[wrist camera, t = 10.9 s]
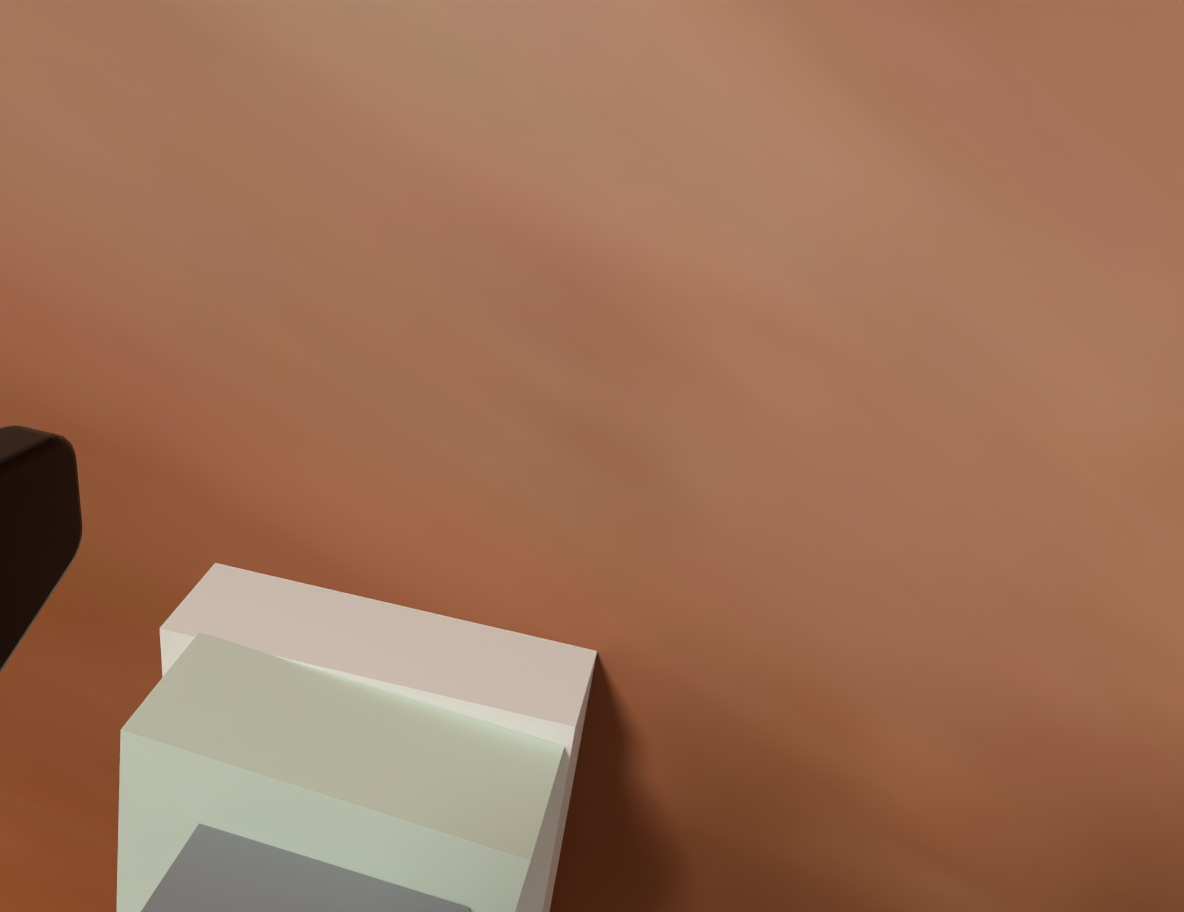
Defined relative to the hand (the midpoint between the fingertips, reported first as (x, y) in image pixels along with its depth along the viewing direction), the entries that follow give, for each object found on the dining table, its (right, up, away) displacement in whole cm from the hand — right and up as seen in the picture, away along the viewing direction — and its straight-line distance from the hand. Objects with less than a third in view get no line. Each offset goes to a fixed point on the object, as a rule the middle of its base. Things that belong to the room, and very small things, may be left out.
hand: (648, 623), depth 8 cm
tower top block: (-6, -7, +17) cm, 19 cm away
